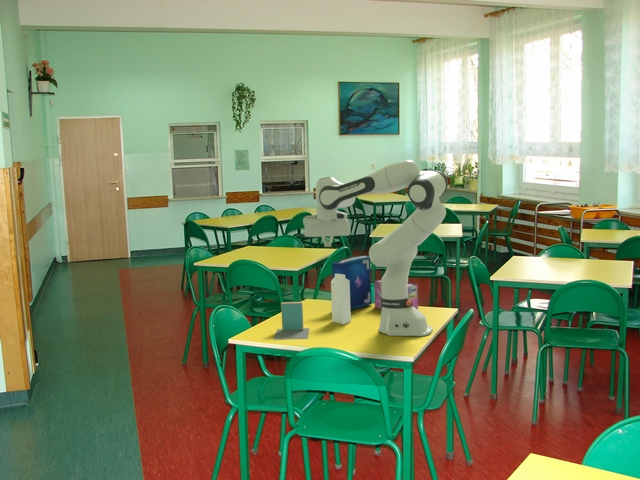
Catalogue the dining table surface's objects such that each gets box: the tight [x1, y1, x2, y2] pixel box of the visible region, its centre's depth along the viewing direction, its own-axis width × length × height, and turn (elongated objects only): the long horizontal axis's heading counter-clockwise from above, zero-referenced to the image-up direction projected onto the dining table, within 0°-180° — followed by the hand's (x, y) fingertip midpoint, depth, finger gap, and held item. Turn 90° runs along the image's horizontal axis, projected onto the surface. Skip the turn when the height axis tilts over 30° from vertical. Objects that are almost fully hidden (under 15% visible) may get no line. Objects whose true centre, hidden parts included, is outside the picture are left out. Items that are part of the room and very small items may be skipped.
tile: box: [280, 301, 305, 331], centre depth 277 cm, size 2×9×12 cm, turn 88°
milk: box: [330, 274, 352, 326], centre depth 290 cm, size 6×6×22 cm
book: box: [331, 255, 373, 311], centre depth 318 cm, size 22×7×25 cm, turn 132°
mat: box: [273, 327, 310, 341], centre depth 272 cm, size 17×14×1 cm
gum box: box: [373, 280, 419, 311], centre depth 312 cm, size 24×8×14 cm, turn 37°
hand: (327, 246), depth 282 cm, fingers closed
